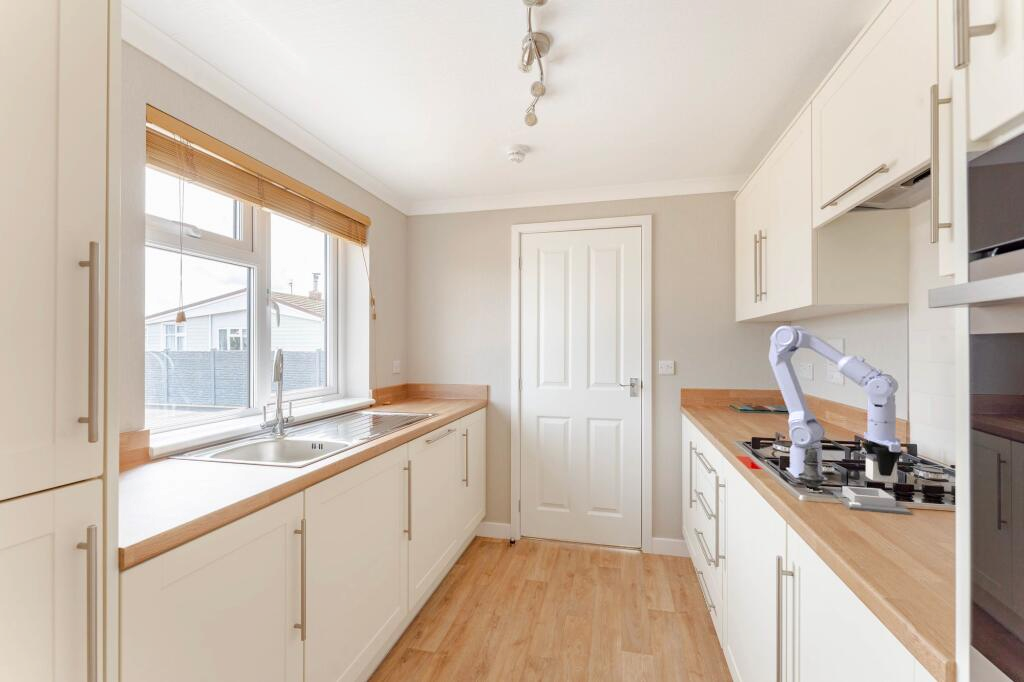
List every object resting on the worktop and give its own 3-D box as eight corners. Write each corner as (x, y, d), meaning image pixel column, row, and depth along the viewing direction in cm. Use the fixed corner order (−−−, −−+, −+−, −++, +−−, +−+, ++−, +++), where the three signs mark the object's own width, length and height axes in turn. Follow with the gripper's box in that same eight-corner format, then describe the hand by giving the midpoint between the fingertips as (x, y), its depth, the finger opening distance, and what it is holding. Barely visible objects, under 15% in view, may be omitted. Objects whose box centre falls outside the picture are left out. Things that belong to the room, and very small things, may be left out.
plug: (865, 476, 121) (865, 453, 121) (888, 477, 120) (889, 455, 119) (872, 480, 117) (873, 457, 117) (896, 482, 116) (897, 459, 116)
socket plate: (829, 492, 118) (829, 482, 118) (884, 496, 115) (884, 486, 115) (849, 509, 107) (849, 498, 107) (911, 514, 103) (911, 503, 103)
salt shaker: (829, 493, 117) (829, 447, 117) (806, 493, 117) (806, 447, 117) (815, 486, 123) (814, 442, 123) (793, 486, 123) (793, 442, 123)
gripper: (915, 427, 110) (915, 482, 110) (885, 416, 124) (884, 465, 124) (881, 425, 112) (880, 480, 112) (855, 415, 126) (854, 464, 126)
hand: (880, 472), depth 118 cm, fingers closed on plug, 4 cm apart
